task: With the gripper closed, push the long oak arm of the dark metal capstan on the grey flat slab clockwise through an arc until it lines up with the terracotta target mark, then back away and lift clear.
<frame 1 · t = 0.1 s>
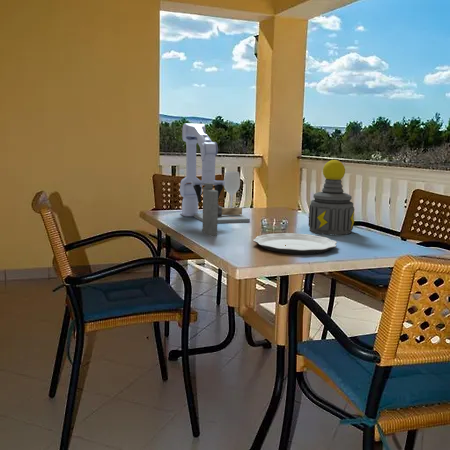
hand: (207, 202, 224), 10 cm above the table, fingers open, 7 cm apart
grey flat slab: (221, 219, 242), on the table
plate: (294, 247, 186), on the table
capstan: (222, 209, 243), point 4 cm above the table, hinge at 0.0°
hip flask: (208, 233, 209), on the table
wineglass: (231, 213, 262), on the table
decorative lamp: (330, 231, 219), on the table
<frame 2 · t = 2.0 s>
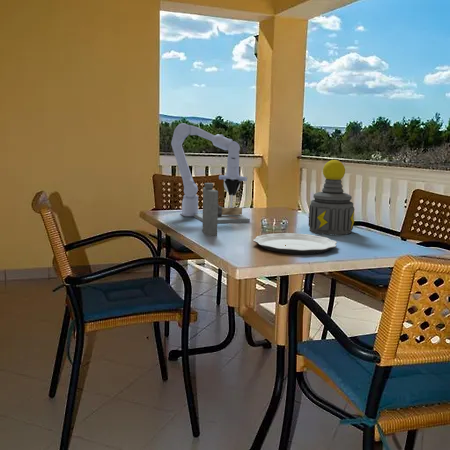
hand: (232, 195, 250), 10 cm above the table, fingers closed
nothing on the table moved.
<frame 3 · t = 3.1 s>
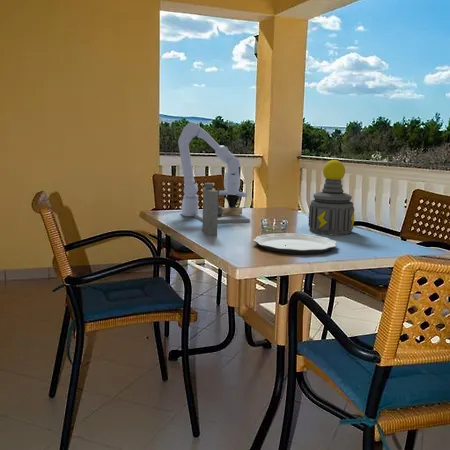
hand: (232, 210, 251), 3 cm above the table, fingers closed
nothing on the table moved.
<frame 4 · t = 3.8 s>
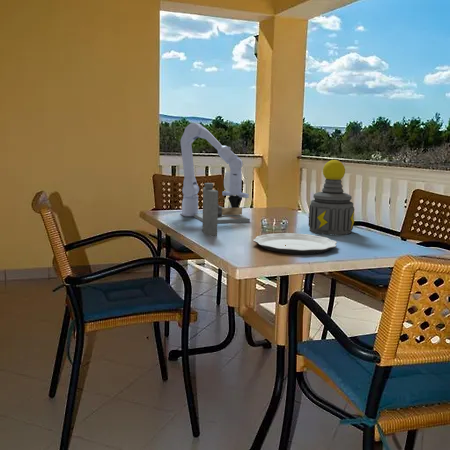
hand: (234, 211, 248), 3 cm above the table, fingers closed
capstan: (222, 209, 243), point 4 cm above the table, hinge at 0.0°, touching gripper
everything else where it was.
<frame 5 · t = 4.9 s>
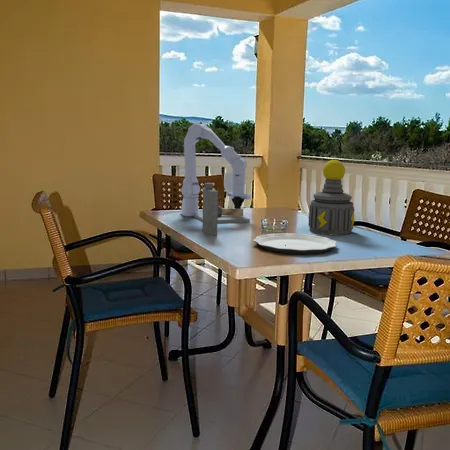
hand: (237, 212, 244), 3 cm above the table, fingers closed, pressing on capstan
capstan: (222, 210, 242), point 4 cm above the table, hinge at -21.9°, touching gripper
everything else where it was.
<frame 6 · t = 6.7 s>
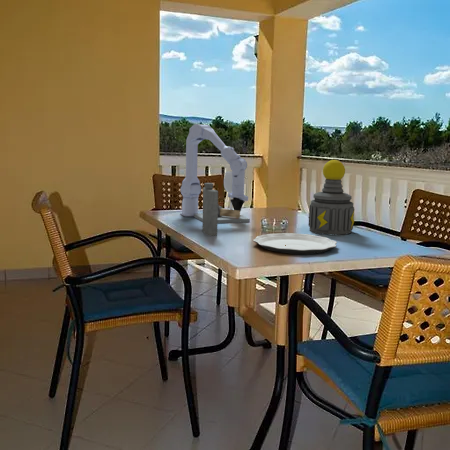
hand: (237, 214, 239), 3 cm above the table, fingers closed
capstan: (221, 210, 240), point 4 cm above the table, hinge at -52.0°, touching gripper
everything else where it was.
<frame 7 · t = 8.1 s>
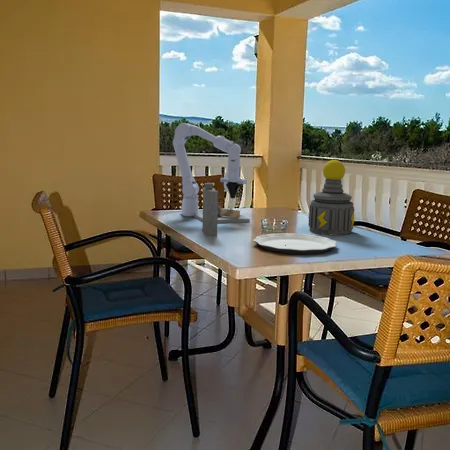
hand: (232, 198, 247), 9 cm above the table, fingers closed
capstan: (221, 210, 240), point 4 cm above the table, hinge at -52.1°
everything else where it was.
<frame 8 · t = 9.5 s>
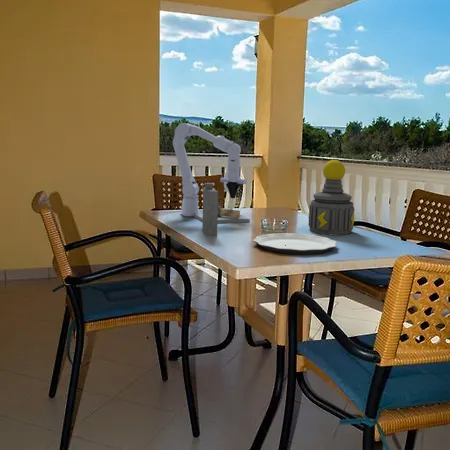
hand: (232, 198, 247), 9 cm above the table, fingers closed
nothing on the table moved.
at the end: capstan at -52° (first picture: +0°); wineglass moved 0.2 cm from its start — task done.
